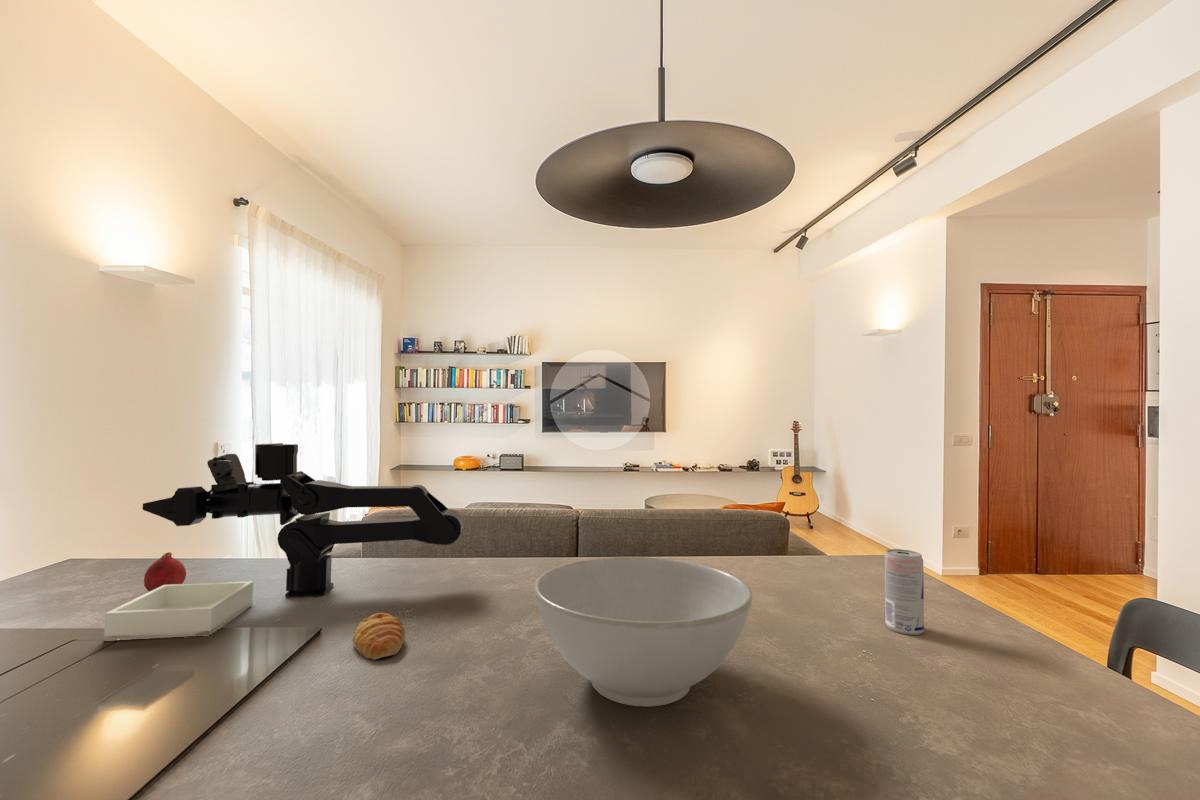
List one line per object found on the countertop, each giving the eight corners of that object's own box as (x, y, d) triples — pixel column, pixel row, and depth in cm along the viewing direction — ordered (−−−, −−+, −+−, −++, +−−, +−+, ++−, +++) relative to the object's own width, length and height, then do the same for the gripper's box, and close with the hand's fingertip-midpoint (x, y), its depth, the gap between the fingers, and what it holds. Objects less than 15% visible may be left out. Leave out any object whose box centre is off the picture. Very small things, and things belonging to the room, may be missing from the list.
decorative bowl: (547, 635, 80) (548, 554, 81) (726, 640, 79) (726, 558, 80) (512, 741, 54) (515, 619, 54) (782, 750, 53) (782, 626, 53)
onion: (166, 603, 92) (168, 556, 92) (133, 603, 92) (135, 556, 92) (192, 593, 98) (194, 548, 98) (162, 592, 98) (164, 548, 98)
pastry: (412, 656, 73) (413, 628, 73) (359, 668, 70) (359, 638, 70) (398, 633, 81) (399, 607, 81) (350, 642, 78) (350, 615, 78)
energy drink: (921, 626, 86) (921, 551, 87) (926, 638, 81) (925, 558, 82) (884, 620, 88) (883, 547, 89) (886, 632, 83) (885, 554, 84)
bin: (252, 604, 92) (253, 581, 92) (210, 636, 78) (211, 608, 79) (162, 608, 89) (164, 584, 89) (103, 641, 76) (105, 613, 76)
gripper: (277, 454, 108) (191, 457, 105) (232, 456, 90) (125, 459, 87) (276, 510, 107) (189, 514, 104) (230, 523, 89) (123, 529, 86)
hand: (160, 503), depth 95 cm, fingers open, 9 cm apart
